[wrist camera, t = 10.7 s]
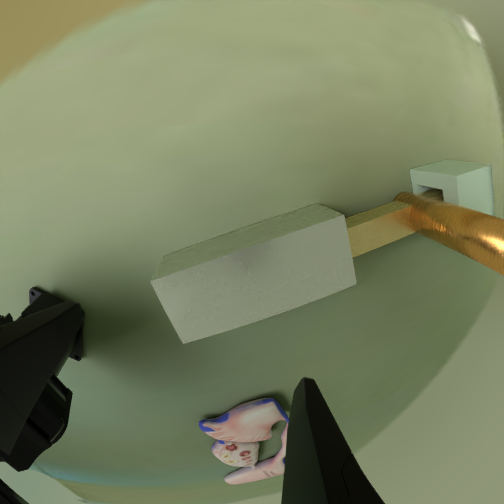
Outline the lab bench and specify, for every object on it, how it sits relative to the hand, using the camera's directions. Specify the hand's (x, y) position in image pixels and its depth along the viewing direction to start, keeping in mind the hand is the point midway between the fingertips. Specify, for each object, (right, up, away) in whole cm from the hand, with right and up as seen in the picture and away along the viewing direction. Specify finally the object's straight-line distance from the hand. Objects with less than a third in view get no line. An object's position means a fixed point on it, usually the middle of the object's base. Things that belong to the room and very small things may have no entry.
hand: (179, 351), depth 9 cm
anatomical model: (+2, -22, +21) cm, 31 cm away
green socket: (+20, +9, +12) cm, 25 cm away
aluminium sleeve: (+2, +3, +12) cm, 13 cm away
